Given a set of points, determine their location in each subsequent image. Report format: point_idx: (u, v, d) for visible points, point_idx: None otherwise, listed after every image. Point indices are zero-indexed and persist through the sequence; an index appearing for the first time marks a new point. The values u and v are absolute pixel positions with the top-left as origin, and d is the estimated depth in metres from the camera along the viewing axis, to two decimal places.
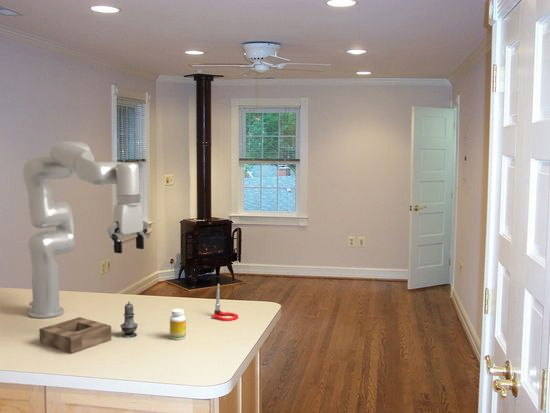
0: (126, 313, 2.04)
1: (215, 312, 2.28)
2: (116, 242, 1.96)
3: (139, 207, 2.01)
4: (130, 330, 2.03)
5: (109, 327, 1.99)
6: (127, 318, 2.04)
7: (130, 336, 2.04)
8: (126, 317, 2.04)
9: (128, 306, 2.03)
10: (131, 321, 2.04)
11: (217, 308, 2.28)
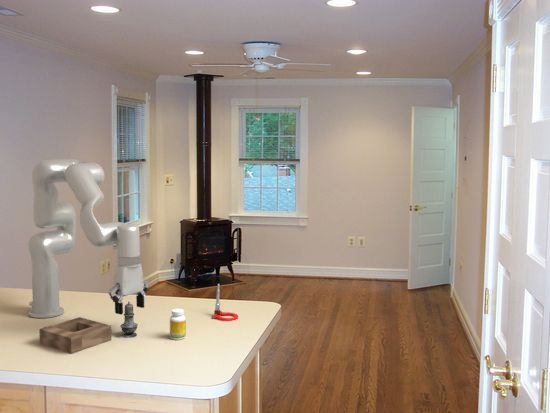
0: (126, 313, 2.04)
1: (215, 312, 2.28)
2: (117, 303, 1.99)
3: (139, 267, 2.04)
4: (130, 330, 2.03)
5: (109, 327, 1.99)
6: (127, 318, 2.04)
7: (130, 336, 2.04)
8: (126, 317, 2.04)
9: (128, 306, 2.03)
10: (131, 321, 2.04)
11: (217, 308, 2.28)
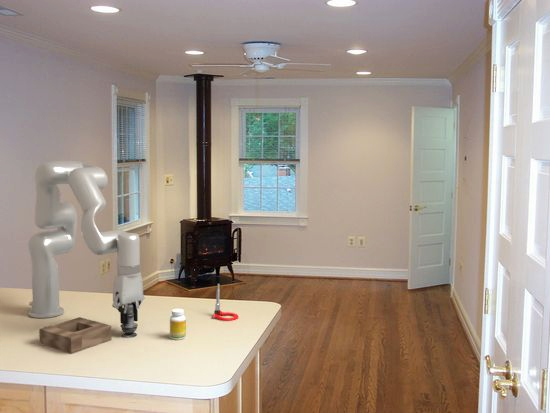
0: None
1: (215, 312, 2.28)
2: (122, 314, 2.02)
3: (139, 276, 2.05)
4: (130, 330, 2.03)
5: (109, 327, 1.99)
6: None
7: (130, 336, 2.04)
8: None
9: (128, 306, 2.03)
10: (131, 321, 2.04)
11: (217, 308, 2.28)
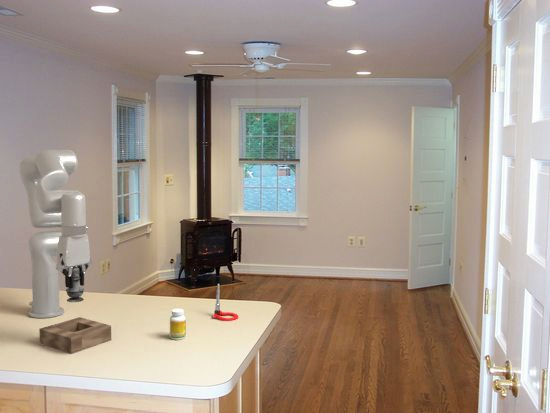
0: None
1: (215, 312, 2.28)
2: (67, 277, 1.93)
3: (85, 238, 1.96)
4: (75, 294, 1.94)
5: (109, 327, 1.99)
6: None
7: (76, 300, 1.95)
8: None
9: (73, 269, 1.94)
10: (77, 284, 1.95)
11: (217, 308, 2.28)
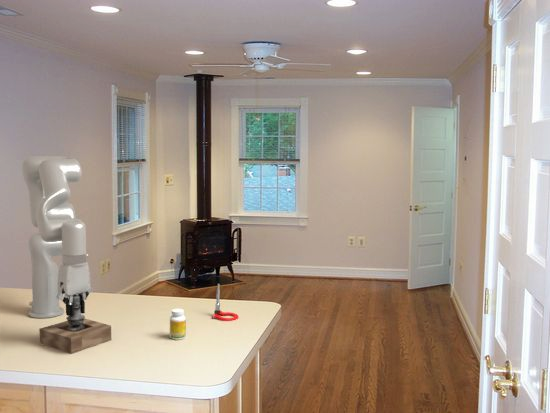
0: None
1: (215, 312, 2.28)
2: (68, 305, 1.94)
3: (86, 266, 1.97)
4: (76, 322, 1.95)
5: (109, 327, 1.99)
6: None
7: (76, 329, 1.95)
8: None
9: (74, 297, 1.95)
10: (77, 313, 1.96)
11: (217, 308, 2.28)
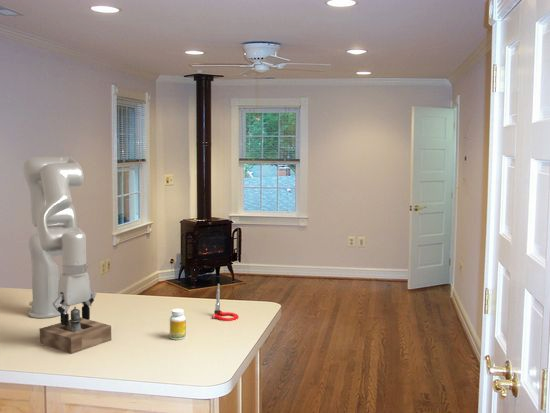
0: (72, 319, 1.96)
1: (215, 312, 2.28)
2: (63, 314, 1.93)
3: (86, 276, 1.97)
4: None
5: (109, 327, 1.99)
6: (72, 324, 1.96)
7: None
8: (72, 323, 1.96)
9: (74, 311, 1.96)
10: (77, 327, 1.97)
11: (217, 308, 2.28)
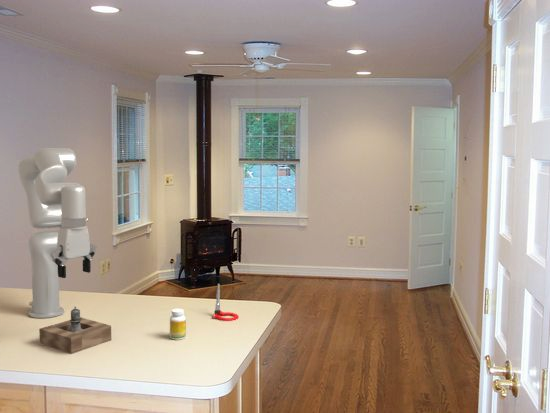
0: (72, 319, 1.96)
1: (215, 312, 2.28)
2: (60, 267, 1.91)
3: (85, 230, 1.96)
4: None
5: (109, 327, 1.99)
6: (73, 324, 1.96)
7: None
8: (72, 323, 1.96)
9: (74, 311, 1.96)
10: (77, 327, 1.97)
11: (217, 308, 2.28)
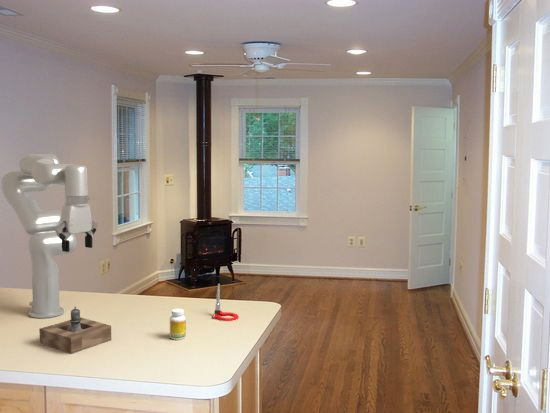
0: (72, 319, 1.96)
1: (215, 312, 2.28)
2: (64, 241, 2.04)
3: (87, 208, 2.09)
4: None
5: (109, 327, 1.99)
6: (73, 324, 1.96)
7: None
8: (72, 323, 1.96)
9: (74, 311, 1.96)
10: (77, 327, 1.97)
11: (217, 308, 2.28)
